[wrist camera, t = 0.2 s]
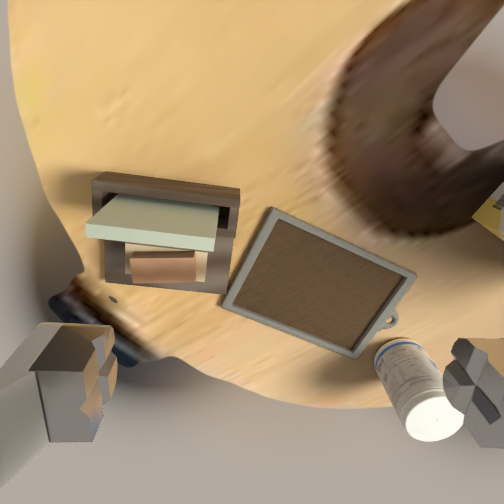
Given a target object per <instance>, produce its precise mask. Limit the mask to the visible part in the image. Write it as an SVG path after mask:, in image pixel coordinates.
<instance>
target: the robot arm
mask: <svg viewBox="0 0 504 504" xmlns="http://www.w3.org/2000/svg"><path fill="white" fill-rule="evenodd" d="M114 342H115V337H114V329H113V328H112V327H111V326H109V325H90V324H72V323H66V324H65V323H48V322H47V323H46V322H44V323H41V324H38V325H37V326H36V327H35V328H34V330H33V331H32V332H31V333H30V334H29V336H28V337H27V338H26V339H25V340H24V341H23V342H22V344H21V345H20V346H19V347H18V348H17V349H16V351H15V352H14V353H13V354H12V355H11V356H10V358H9V359H8V360H7V361H6V362H5V363H4V365H3V366H2V367H1V368H0V488H1V487H2V486H3V485H5V484H6V483H7V482H8V481H9V480H10V479H11V478H12V477H14V476H15V475H16V474H17V473H18V472H19V471H20V470H22V469H23V468H24V467H25V466H26V465H27V464H28V463H30V462H31V461H32V460H33V459H34V458H35V457H36V456H37V455H39V454H40V453H41V452H42V451H43V450H44V449H45V448H46V447H48V446H49V442H93V440H94V437H95V435H96V432H97V430H98V428H99V425H100V423H101V420H102V418H103V406H102V405H103V404H105V403H106V402H107V401H109V400H110V398H111V396H112V393H113V391H114V387H115V382H116V378H117V357H116V356H115V355H114V354H113V353H112V352H111V349H112V347H113V345H114ZM451 353H452V355H453V357H454V360H453V361H452V362H451V363H450V364H448V365H447V366H446V368H445V371H444V374H443V390H444V392H445V395H446V398H447V399H448V401H449V402H450V404H451V405H452V407H453V408H455V409H456V410H458V411H459V412H461V413H462V414H464V419H463V423H464V424H465V426H466V427H467V428H468V430H469V432H470V433H471V434H472V436H473V437H474V438H475V440H476V442H477V443H478V444H479V446H480V447H481V448H503V449H504V338H500V339H481V338H458V340H457V341H456V342H455V343H454V345H453V347H452V350H451Z"/></svg>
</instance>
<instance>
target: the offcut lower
mask: <svg viewBox="0 0 504 504" xmlns="http://www.w3.org/2000/svg"><path fill="white" fill-rule="evenodd" d="M134 251H195V254H196V270H197V276H196V281H199V282H205V275H206V266H207V257H208V251H203V250H195V249H186V248H177V247H168V246H159V245H151V244H142V243H133V242H126V243H125V274H132V272H131V265H130V257H131V255H132V254H133V252H134Z"/></svg>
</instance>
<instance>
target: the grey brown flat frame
mask: <svg viewBox="0 0 504 504" xmlns="http://www.w3.org/2000/svg"><path fill="white" fill-rule="evenodd" d="M417 277H418V276H417V274H416V273H414V272H412V271H410V270H408V269H405V268H403V267H401V266H399V265H397V264H395V263H393V262H390V261H388V260H386V259H384V258H382V257H380V256H378V255H375V254H373V253H371V252H369V251H367V250H365V249H363V248H360V247H358V246H356V245H354V244H352V243H350V242H347V241H345V240H343V239H341V238H339V237H337V236H335V235H332V234H330V233H328V232H326V231H324V230H322V229H320V228H317V227H315V226H313V225H311V224H309V223H307V222H305V221H302V220H300V219H298V218H296V217H294V216H292V215H290V214H287V213H285V212H283V211H281V210H279V209H277V208H274V207H271V209H270V211H269V213H268V215H267V216H266V218H265V220H264V222H263V224H262V226H261V228H260V230H259V232H258V234H257V236H256V237H255V239H254V241H253V243H252V245H251V247H250V249H249V251H248V253H247V255H246V257H245V258H244V260H243V262H242V264H241V266H240V268H239V270H238V272H237V274H236V276H235V278H234V280H233V281H232V283H231V285H230V287H229V289H228V291H227V293H226V295H225V297H224V299H223V301H222V303H221V307H222V308H224V309H227V310H229V311H232V312H234V313H237V314H240V315H242V316H245V317H247V318H250V319H252V320H255V321H258V322H260V323H263V324H265V325H268V326H270V327H273V328H276V329H278V330H281V331H283V332H286V333H288V334H291V335H294V336H296V337H299V338H301V339H304V340H306V341H309V342H312V343H314V344H317V345H319V346H322V347H324V348H327V349H329V350H332V351H335V352H337V353H340V354H342V355H345V356H347V357H350V358H353V359H355V360H357V359H358V357H359V356H360V355H361V353H362V352H363V351H364V349H365V348H366V347H367V345H368V344H369V343H370V341H371V340H372V338H373V337H374V336H375V334H376V333H377V332H379V331H380V330H381V329H388V328H391V327H393V326H395V325H396V324H397V322H398V320H399V316H398V313H397V311H396V310H395V309H396V306H397V304H398V303H399V302H400V300H401V299H402V298H403V296H404V295H405V293H406V292H407V291H408V289H409V288H410V287H411V285H412V284H413V283H414V281H415V280H416V278H417ZM389 317H393V318H394V319H393V321H392V322H391V323H387V322H386V319H388V318H389Z"/></svg>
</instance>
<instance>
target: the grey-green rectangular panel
mask: <svg viewBox="0 0 504 504" xmlns="http://www.w3.org/2000/svg"><path fill="white" fill-rule="evenodd" d="M219 207H220V206H216V205H208V204H200V203H192V202H184V201H176V200H168V199H160V198H152V197H144V196H136V195H128V194H120V193H119V194H118V195H116V196H115V197H114V198H113V199H112V200H111V201H110V202H109V203H107V204H106V205H105V206H104V207H103V208H102V209H101V210H100V211H99V212H97V213H96V214H95V215H94V216H93V217H92V218H91V219H90V220H88V221H87V222H86V223H85V232H86V237H89V238H98V239H107V240H115V241H124V242H133V243H142V244H151V245H159V246H168V247H177V248H186V249H195V250H203V251H212V252H213V251H214V244H215V237H216V230H217V222H218V215H219Z"/></svg>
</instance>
